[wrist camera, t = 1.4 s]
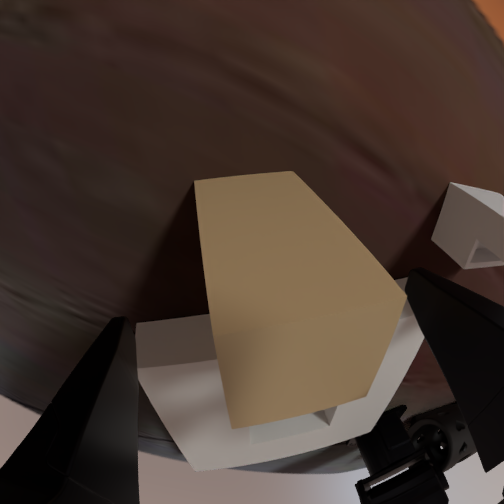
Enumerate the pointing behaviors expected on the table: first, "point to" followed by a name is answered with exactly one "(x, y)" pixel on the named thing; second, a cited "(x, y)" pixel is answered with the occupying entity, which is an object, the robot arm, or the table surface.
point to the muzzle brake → (442, 436)
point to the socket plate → (214, 404)
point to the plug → (290, 298)
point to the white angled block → (471, 227)
